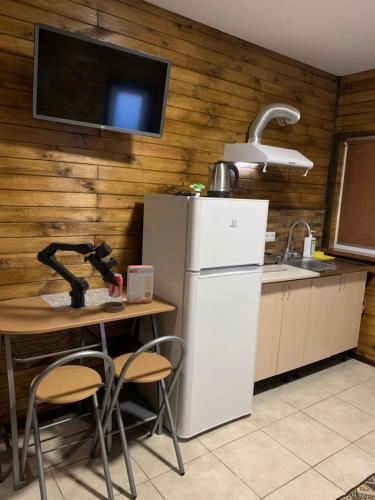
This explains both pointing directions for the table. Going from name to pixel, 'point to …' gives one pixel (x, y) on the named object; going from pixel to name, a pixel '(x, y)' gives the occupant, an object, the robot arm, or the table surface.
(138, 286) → the cracker box
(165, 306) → the table surface
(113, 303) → the ring
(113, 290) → the soda can
